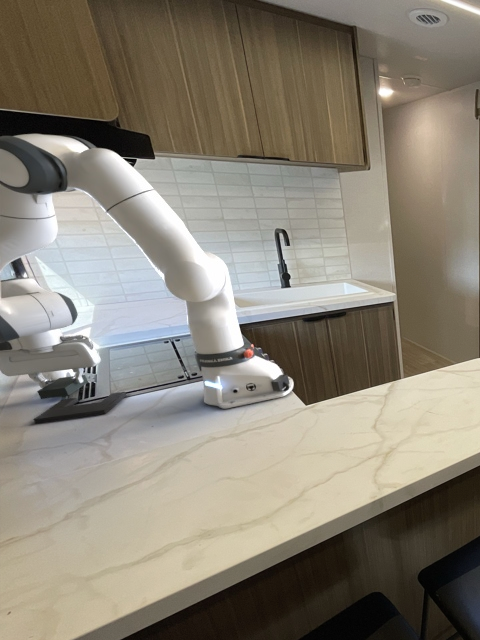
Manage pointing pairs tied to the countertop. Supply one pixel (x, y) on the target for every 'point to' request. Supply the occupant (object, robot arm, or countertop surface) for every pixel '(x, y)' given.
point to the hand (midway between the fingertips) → (62, 384)
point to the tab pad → (61, 387)
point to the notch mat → (79, 408)
